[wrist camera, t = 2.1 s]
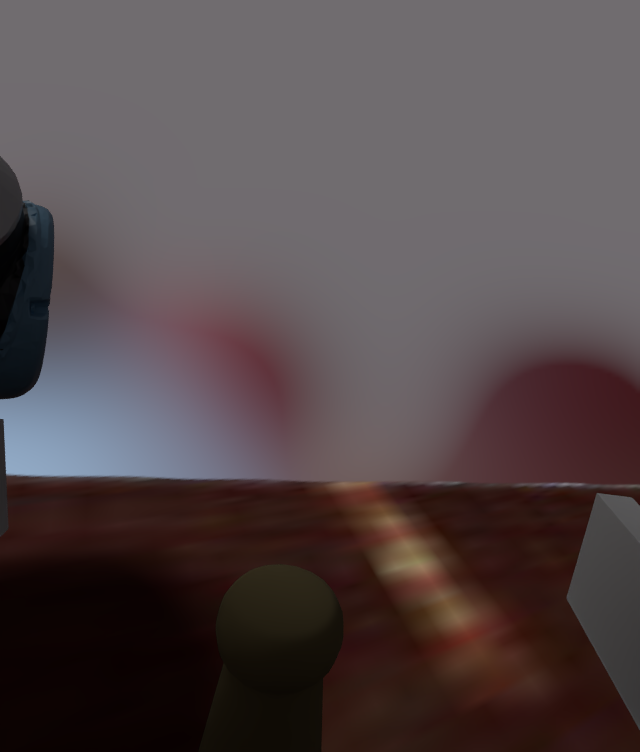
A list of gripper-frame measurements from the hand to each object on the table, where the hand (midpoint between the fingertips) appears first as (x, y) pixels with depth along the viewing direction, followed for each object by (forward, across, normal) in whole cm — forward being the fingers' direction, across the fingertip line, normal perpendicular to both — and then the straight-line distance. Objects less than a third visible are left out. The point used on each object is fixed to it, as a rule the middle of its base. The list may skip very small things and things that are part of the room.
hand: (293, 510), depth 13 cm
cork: (+9, 0, -20) cm, 22 cm away
